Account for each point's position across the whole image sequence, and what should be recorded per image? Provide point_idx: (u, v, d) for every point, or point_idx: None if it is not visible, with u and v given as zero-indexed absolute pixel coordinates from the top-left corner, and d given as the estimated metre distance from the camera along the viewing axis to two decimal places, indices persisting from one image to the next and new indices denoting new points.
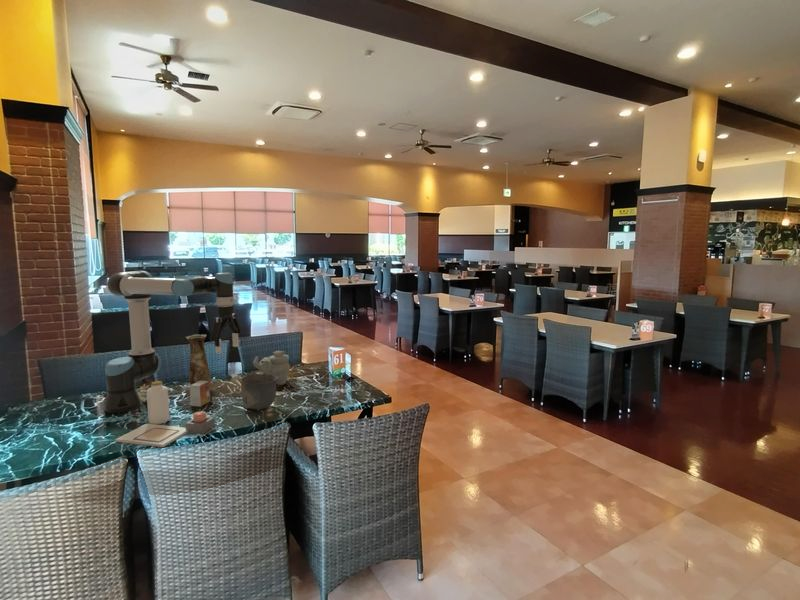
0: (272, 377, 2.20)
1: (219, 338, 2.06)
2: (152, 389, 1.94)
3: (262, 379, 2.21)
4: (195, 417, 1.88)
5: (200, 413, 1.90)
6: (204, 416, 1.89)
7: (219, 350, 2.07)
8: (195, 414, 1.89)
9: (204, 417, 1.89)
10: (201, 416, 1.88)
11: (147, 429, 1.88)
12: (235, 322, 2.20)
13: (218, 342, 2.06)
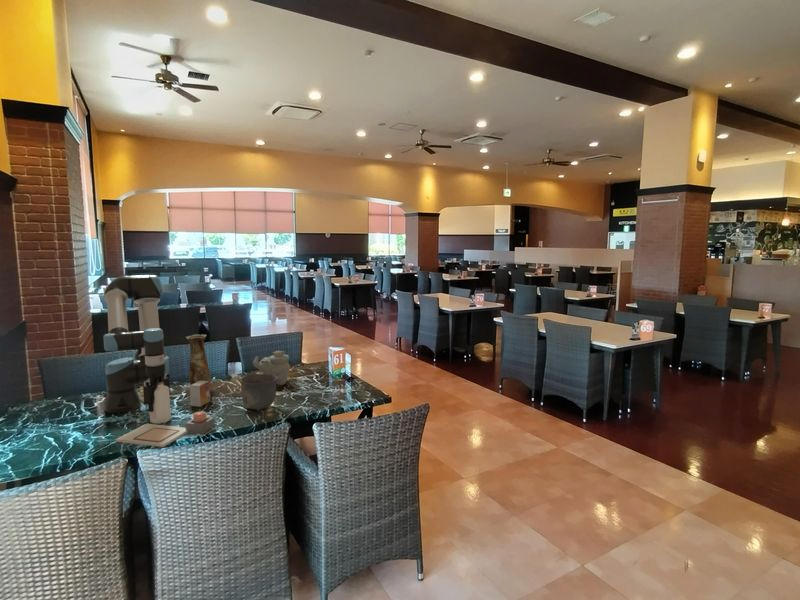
0: (272, 377, 2.20)
1: (153, 403, 1.93)
2: None
3: (262, 379, 2.21)
4: (195, 417, 1.88)
5: (200, 413, 1.90)
6: (204, 416, 1.89)
7: (153, 415, 1.95)
8: (195, 414, 1.89)
9: (204, 417, 1.89)
10: (201, 416, 1.88)
11: (147, 429, 1.88)
12: (166, 384, 2.01)
13: (152, 407, 1.94)
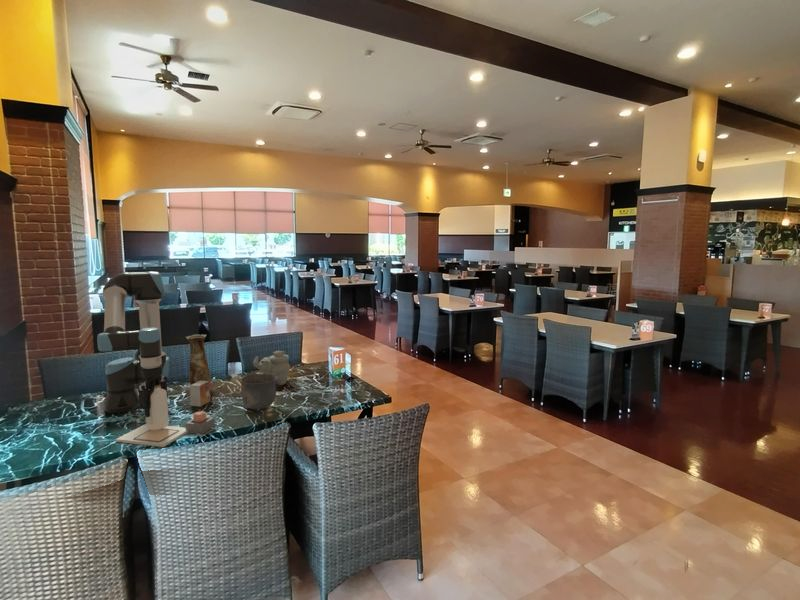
0: (272, 377, 2.20)
1: (149, 407, 1.81)
2: None
3: (262, 379, 2.21)
4: (195, 417, 1.88)
5: (200, 413, 1.90)
6: (204, 416, 1.89)
7: (150, 421, 1.82)
8: (195, 414, 1.89)
9: (204, 417, 1.89)
10: (201, 416, 1.88)
11: (147, 429, 1.88)
12: (163, 387, 1.89)
13: (148, 412, 1.81)
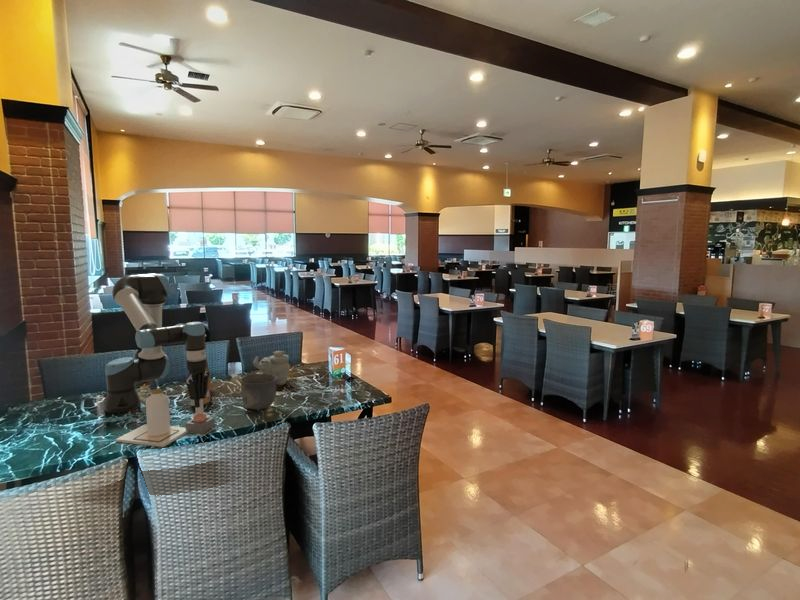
0: (272, 377, 2.20)
1: (199, 398, 1.88)
2: (151, 398, 1.80)
3: (262, 379, 2.21)
4: (195, 418, 1.88)
5: None
6: (204, 417, 1.90)
7: (199, 411, 1.89)
8: (195, 415, 1.89)
9: (204, 418, 1.90)
10: (201, 417, 1.88)
11: (147, 429, 1.88)
12: (204, 381, 1.92)
13: (198, 403, 1.88)
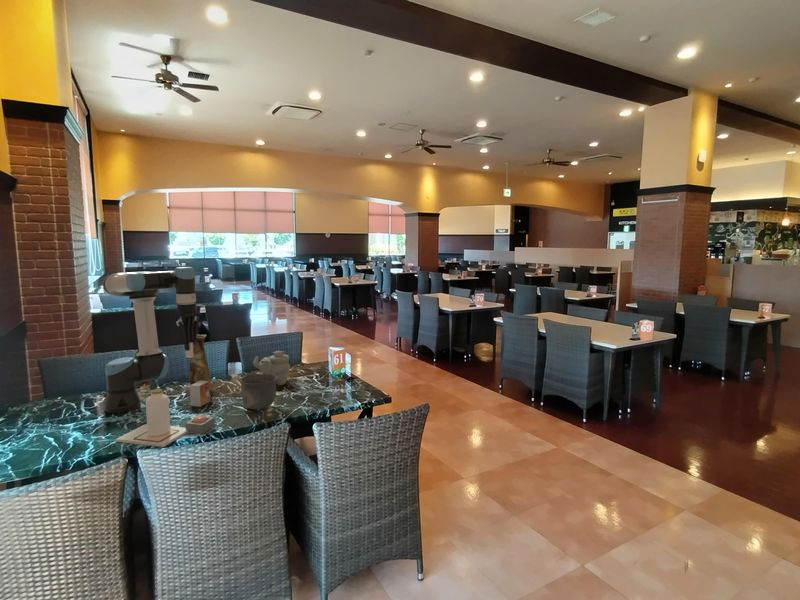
0: (272, 377, 2.20)
1: (189, 341, 1.92)
2: (151, 398, 1.80)
3: (262, 379, 2.21)
4: (195, 421, 1.88)
5: (200, 417, 1.90)
6: (204, 420, 1.90)
7: (189, 354, 1.94)
8: (195, 418, 1.89)
9: (204, 421, 1.90)
10: (201, 420, 1.88)
11: (147, 429, 1.88)
12: (194, 326, 1.97)
13: (188, 346, 1.93)
